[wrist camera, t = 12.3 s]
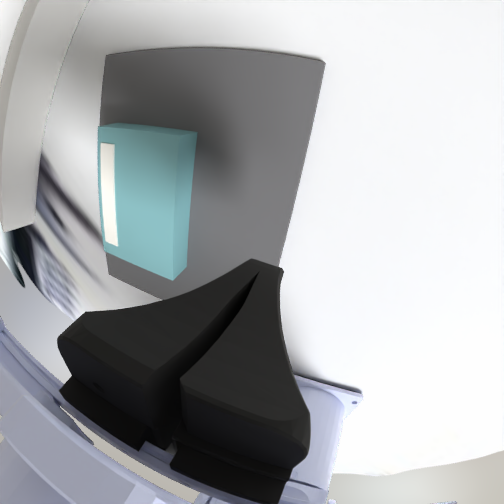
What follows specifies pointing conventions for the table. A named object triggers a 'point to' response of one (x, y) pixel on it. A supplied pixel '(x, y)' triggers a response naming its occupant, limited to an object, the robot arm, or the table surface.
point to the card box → (146, 194)
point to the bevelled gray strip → (30, 100)
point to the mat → (221, 148)
